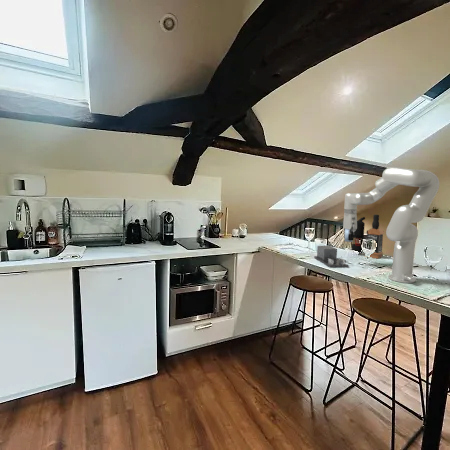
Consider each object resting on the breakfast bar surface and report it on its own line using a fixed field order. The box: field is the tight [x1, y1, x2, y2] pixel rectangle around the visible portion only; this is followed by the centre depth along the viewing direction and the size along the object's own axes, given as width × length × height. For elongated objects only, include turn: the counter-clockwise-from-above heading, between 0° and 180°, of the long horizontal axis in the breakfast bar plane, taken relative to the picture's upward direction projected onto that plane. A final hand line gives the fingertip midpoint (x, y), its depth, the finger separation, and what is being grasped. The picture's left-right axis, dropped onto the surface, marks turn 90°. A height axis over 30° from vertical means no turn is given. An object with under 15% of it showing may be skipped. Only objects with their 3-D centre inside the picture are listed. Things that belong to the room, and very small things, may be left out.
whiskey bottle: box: [366, 214, 385, 260], centre depth 207 cm, size 10×10×32 cm
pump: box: [344, 229, 354, 243], centre depth 182 cm, size 5×5×9 cm
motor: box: [314, 245, 349, 269], centre depth 191 cm, size 29×12×10 cm, turn 4°
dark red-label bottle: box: [351, 216, 366, 254], centre depth 216 cm, size 14×9×30 cm
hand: (348, 239), depth 182 cm, fingers closed on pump, 5 cm apart
